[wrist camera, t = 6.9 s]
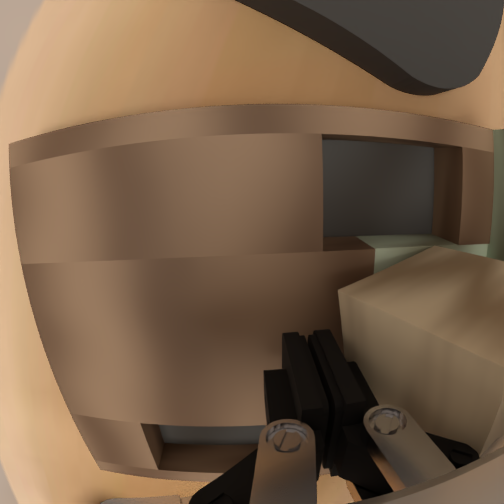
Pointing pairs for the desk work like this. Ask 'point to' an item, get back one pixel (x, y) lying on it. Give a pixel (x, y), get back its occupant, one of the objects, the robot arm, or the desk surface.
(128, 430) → the board
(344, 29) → the media streaming box
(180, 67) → the desk surface
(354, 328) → the block
